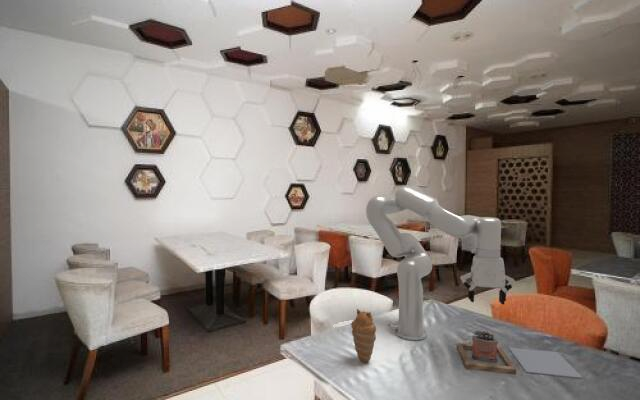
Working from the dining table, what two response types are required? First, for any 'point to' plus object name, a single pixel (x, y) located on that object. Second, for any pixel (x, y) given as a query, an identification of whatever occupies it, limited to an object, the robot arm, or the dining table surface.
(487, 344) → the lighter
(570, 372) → the pad
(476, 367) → the picture frame
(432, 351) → the dining table surface
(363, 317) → the cat ice cream
